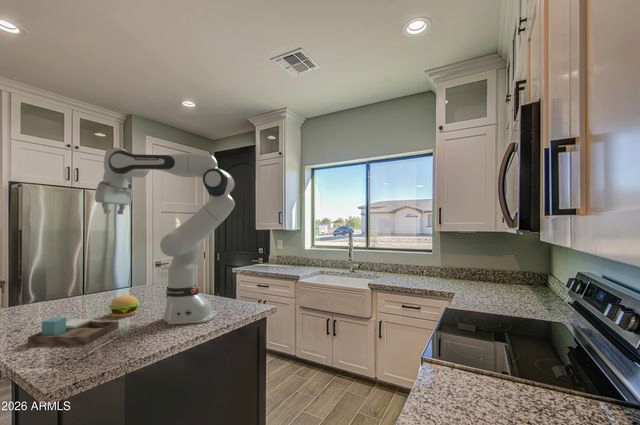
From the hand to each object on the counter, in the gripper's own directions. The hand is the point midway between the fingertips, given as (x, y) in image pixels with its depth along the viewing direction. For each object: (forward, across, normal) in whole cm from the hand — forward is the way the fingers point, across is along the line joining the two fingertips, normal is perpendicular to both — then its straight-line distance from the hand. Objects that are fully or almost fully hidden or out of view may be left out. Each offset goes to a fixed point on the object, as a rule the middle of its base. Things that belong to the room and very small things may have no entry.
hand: (113, 214), depth 131 cm
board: (+47, -23, -3) cm, 52 cm away
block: (+46, -27, +2) cm, 53 cm away
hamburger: (+47, +5, -4) cm, 47 cm away
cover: (+43, -19, +2) cm, 47 cm away
